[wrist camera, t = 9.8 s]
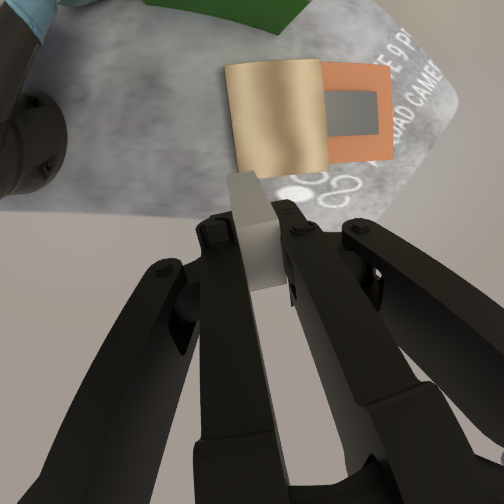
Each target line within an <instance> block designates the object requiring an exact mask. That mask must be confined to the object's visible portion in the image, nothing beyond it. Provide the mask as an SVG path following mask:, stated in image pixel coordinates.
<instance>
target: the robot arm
mask: <svg viewBox="0 0 504 504" xmlns="http://www.w3.org/2000/svg"><path fill="white" fill-rule="evenodd" d="M57 9H58V6H57V1H56V0H0V200H1V199H2V198H3V197H5V196H7V195H14V194H27V193H31V192H34V191H36V190H38V189H40V188H41V187H43V186H44V185H46V184H47V183H49V182H50V181H51V180H52V179H53V178H54V176H55V175H56V174H57V172H58V171H59V169H60V167H61V165H62V162H63V160H64V156H65V152H66V145H67V131H66V125H65V121H64V117H63V115H62V112H61V110H60V109H59V107H58V105H57V104H56V103H55V102H54V101H53V100H52V99H51V98H50V97H49V96H47V95H45V94H43V93H40V92H25V93H20V91H21V89H22V86H23V84H24V81H25V79H26V77H27V74H28V72H29V70H30V67H31V65H32V63H33V61H34V59H35V57H36V55H37V53H38V51H39V49H40V47H41V46H43V44H44V38H45V35H46V33H47V31H48V29H49V27H50V25H51V23H52V22H53V20H54V18H55V16H56V13H57ZM226 178H227V184H228V190H229V196H230V203H231V209H232V211H230V212H225V213H220V214H215V215H211V216H210V217H209V218H208V219H206V220H204V221H202V222H201V223H199V224H198V225H197V227H196V233H197V236H198V240H199V243H200V247H201V257H200V258H198V259H197V260H195V261H193V262H191V263H188V264H186V265H184V266H183V265H182V263H181V261H180V260H178V259H176V258H168V259H162V260H159V261H157V262H156V263H154V264H153V265H151V266H150V267H149V268H148V269H147V271H146V272H145V274H144V275H143V277H142V279H141V280H140V282H139V283H138V285H137V287H136V288H135V290H134V291H133V293H132V295H131V296H130V298H129V299H128V301H127V303H126V305H125V306H124V308H123V310H122V311H121V313H120V314H119V316H118V318H117V320H116V321H115V323H114V325H113V327H112V328H111V330H110V332H109V333H108V335H107V337H106V339H105V341H104V342H103V344H102V346H101V348H100V349H99V352H98V353H97V355H96V357H95V359H94V360H93V362H92V364H91V366H90V368H89V370H88V372H87V374H86V376H85V378H84V379H83V381H82V383H81V385H80V388H79V389H78V391H77V393H76V395H75V397H74V399H73V401H72V403H71V405H70V407H69V409H68V412H67V414H66V416H65V418H64V420H63V422H62V424H61V427H60V429H59V431H58V433H57V435H56V438H55V440H54V443H53V444H52V447H51V449H50V451H49V454H48V456H47V459H46V461H45V463H44V466H43V468H42V471H41V473H40V476H39V477H38V478H37V480H36V481H35V482H34V483H33V484H32V486H31V487H30V488H29V489H28V490H27V492H26V493H25V494H24V495H23V497H22V498H21V499H20V500H19V501H18V503H17V504H149V503H150V500H151V496H152V492H153V489H154V485H155V481H156V478H157V474H158V470H159V467H160V463H161V459H162V456H163V452H164V449H165V446H166V442H167V439H168V435H169V432H170V428H171V425H172V422H173V418H174V415H175V412H176V408H177V404H178V402H179V398H180V395H181V392H182V388H183V385H184V382H185V378H186V375H187V372H188V369H189V365H190V362H191V359H192V356H193V352H194V349H195V346H196V343H197V340H198V337H199V334H200V405H201V438H200V440H198V441H197V442H195V445H194V449H193V474H194V491H195V504H504V452H503V454H502V457H501V461H502V464H503V465H500V464H498V463H495V462H493V461H490V460H488V459H485V458H483V457H481V456H478V455H476V454H474V452H473V450H472V448H471V446H470V444H469V442H468V440H467V438H466V436H465V434H464V432H463V430H462V428H461V426H460V424H459V422H458V421H457V419H456V417H455V415H454V413H453V411H452V410H451V408H450V406H449V404H448V402H447V401H446V399H445V397H444V395H443V393H442V392H441V391H440V389H441V390H442V391H443V392H444V393H445V394H446V395H447V396H448V398H449V399H451V401H452V402H453V403H454V404H455V405H456V406H457V407H458V408H459V409H460V410H461V411H462V412H463V413H464V414H465V416H466V417H467V418H468V419H469V420H470V421H471V422H472V423H473V424H474V425H475V426H476V427H477V428H478V429H479V430H480V431H481V432H482V433H483V434H484V435H485V436H487V437H488V438H489V439H491V440H492V441H493V442H495V443H496V444H498V445H500V446H501V447H503V448H504V308H502V307H501V306H500V305H499V304H497V303H496V302H495V301H493V300H492V299H491V298H489V297H488V296H487V295H485V294H484V293H482V292H481V291H480V290H478V289H477V288H476V287H474V286H473V285H471V284H470V283H468V282H467V281H466V280H464V279H463V278H462V277H460V276H459V275H457V274H456V273H454V272H453V271H451V270H450V269H448V268H447V267H446V266H444V265H443V264H441V263H440V262H438V261H437V260H435V259H433V258H432V257H430V256H429V255H427V254H426V253H424V252H423V251H421V250H420V249H418V248H416V247H415V246H413V245H412V244H410V243H408V242H406V241H405V240H404V239H402V238H400V237H399V236H397V235H395V234H394V233H392V232H390V231H389V230H387V229H385V228H384V227H382V226H380V225H379V224H377V223H375V222H373V221H371V220H368V219H363V218H359V219H358V218H354V219H351V220H348V221H346V222H344V223H343V225H342V232H323V231H322V230H321V228H320V227H319V226H318V225H317V224H316V223H314V222H311V221H307V220H306V218H305V217H304V215H303V214H302V212H301V211H300V209H299V208H298V207H297V205H296V204H295V202H293V201H290V200H288V199H285V200H280V201H275V202H270V201H269V199H268V197H267V195H266V193H265V191H264V189H263V187H262V185H261V183H260V181H259V179H258V177H257V176H256V174H255V172H254V170H251V171H246V172H241V173H236V174H231V175H226ZM376 269H377V270H379V271H380V273H381V274H382V276H381V278H380V277H379V276H377V275H376ZM286 276H287V278H288V282H289V290H290V300H291V306H294V305H295V308H296V311H297V314H298V316H299V319H300V322H301V325H302V328H303V331H304V333H305V336H306V339H307V342H308V345H309V348H310V351H311V353H312V356H313V359H314V362H315V365H316V368H317V371H318V374H319V377H320V380H321V383H322V386H323V388H324V391H325V394H326V397H327V400H328V403H329V406H330V409H331V412H332V415H333V418H334V421H335V424H336V427H337V430H338V434H339V436H340V440H341V443H342V446H343V449H344V455H345V464H346V470H347V473H348V477H347V478H346V479H344V480H342V481H340V482H339V483H336V484H332V485H316V486H315V485H314V486H290V482H289V478H288V474H287V470H286V466H285V461H284V456H283V451H282V447H281V442H280V437H279V432H278V428H277V423H276V419H275V413H274V409H273V404H272V399H271V394H270V389H269V385H268V380H267V375H266V370H265V365H264V360H263V355H262V350H261V346H260V340H259V335H258V331H257V326H256V321H255V316H254V311H253V306H252V301H251V296H250V291H255V290H260V289H264V288H269V287H274V286H278V285H283V284H287V280H286ZM398 346H399V347H400V348H401V349H402V350H403V351H404V352H405V353H406V354H407V355H408V356H409V357H410V358H411V359H412V360H413V361H414V362H415V363H416V364H417V365H418V366H419V367H420V368H421V369H422V370H423V371H424V372H425V374H426V375H427V376H428V377H429V378H430V379H431V380H432V381H433V382H434V383H435V384H434V383H432V382H431V381H424V382H421V381H419V380H418V379H417V377H416V376H415V375H414V373H413V371H412V369H411V368H410V366H409V364H408V362H407V361H406V359H405V357H404V355H403V354H402V352H401V350H400V349H399V347H398ZM437 386H438V387H439V388H440V389H439V388H438V387H437Z"/></svg>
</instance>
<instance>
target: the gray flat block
mask: <svg viewBox="0 0 504 504" xmlns="http://www.w3.org/2000/svg"><path fill="white" fill-rule="evenodd" d="M324 99H325V110H326V124H327V137H334V136H352V135H379V122H378V103H377V92H376V91H324Z"/></svg>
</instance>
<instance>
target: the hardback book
mask: <svg viewBox="0 0 504 504" xmlns="http://www.w3.org/2000/svg"><path fill="white" fill-rule="evenodd" d="M142 1H143V2H144V3H145V4H146V5H153V6H160V7H167V8H174V9H180V10H186V11H191V12H196V13H201V14H205V15H210V16H214V17H218V18H222V19H226V20H230V21H234V22H238V23H241V24H245V25H248V26H251V27H255V28H258V29H261V30H264V31H267V32H270V33H273V34H276V35H279V34H280V33H281V32H282V31H283V30H284V29H285V28H286V27H287V25H288V24H289V23H290V22H291V21H292V20H293V19H294V18H295V17H296V16H297V15H298V14H299V13H300V12H301V11H302V10H303V9H304V8H305V7H306V6H307V5H308V4H309V3H310V2H311V1H312V0H142Z"/></svg>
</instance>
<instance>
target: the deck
mask: <svg viewBox="0 0 504 504" xmlns="http://www.w3.org/2000/svg"><path fill="white" fill-rule="evenodd" d="M224 71H225V79H226V86H227V93H228V100H229V108H230V115H231V122H232V129H233V136H234V143H235V151H236V158H237V165H238V172H239V173H241V172H246V171H251V170H254V172H255V174H256V176H257V177H258V179H260V178H268V177H276V176H284V175H293V174H302V173H311V172H321V171H329V157H328V139H327V124H326V110H325V99H324V88H323V78H322V69H321V60H320V59H303V60H278V61H264V62H252V63H243V64H234V65H226V66H224Z"/></svg>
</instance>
